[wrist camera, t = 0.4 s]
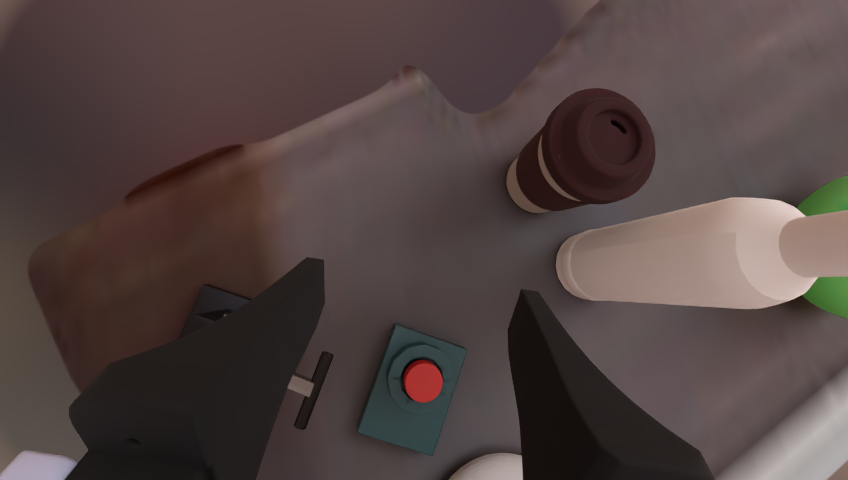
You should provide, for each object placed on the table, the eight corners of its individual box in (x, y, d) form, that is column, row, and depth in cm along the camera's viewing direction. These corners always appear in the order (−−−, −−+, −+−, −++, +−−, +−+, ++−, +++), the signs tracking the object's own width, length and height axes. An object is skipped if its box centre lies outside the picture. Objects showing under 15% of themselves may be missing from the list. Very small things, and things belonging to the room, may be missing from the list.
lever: (337, 353, 33) (328, 356, 31) (310, 425, 32) (299, 433, 30) (226, 310, 34) (209, 309, 32) (197, 377, 34) (177, 381, 31)
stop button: (432, 402, 38) (435, 407, 37) (397, 390, 38) (399, 395, 36) (444, 366, 39) (448, 370, 37) (410, 354, 38) (412, 358, 37)
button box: (429, 449, 41) (436, 464, 37) (357, 426, 40) (356, 440, 36) (463, 347, 43) (472, 352, 39) (394, 322, 42) (397, 326, 38)
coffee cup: (512, 237, 45) (587, 213, 30) (481, 157, 45) (539, 96, 31) (585, 209, 47) (688, 174, 32) (554, 132, 47) (642, 64, 33)
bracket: (304, 317, 40) (290, 325, 32) (273, 394, 39) (250, 423, 31) (207, 284, 39) (168, 284, 31) (172, 362, 38) (121, 383, 30)
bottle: (613, 304, 46) (1064, 339, 17) (550, 294, 45) (916, 313, 15) (618, 238, 47) (1050, 160, 18) (558, 226, 46) (911, 123, 17)
